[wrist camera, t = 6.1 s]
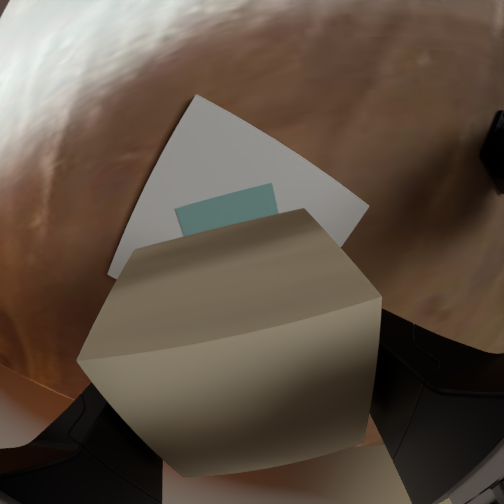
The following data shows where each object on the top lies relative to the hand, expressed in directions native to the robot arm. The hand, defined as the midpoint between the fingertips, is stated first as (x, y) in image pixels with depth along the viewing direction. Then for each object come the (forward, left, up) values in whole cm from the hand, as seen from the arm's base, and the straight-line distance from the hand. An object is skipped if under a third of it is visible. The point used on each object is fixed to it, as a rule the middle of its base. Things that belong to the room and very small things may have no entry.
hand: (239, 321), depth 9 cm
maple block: (0, 0, -1) cm, 1 cm away
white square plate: (+1, +1, -12) cm, 12 cm away
